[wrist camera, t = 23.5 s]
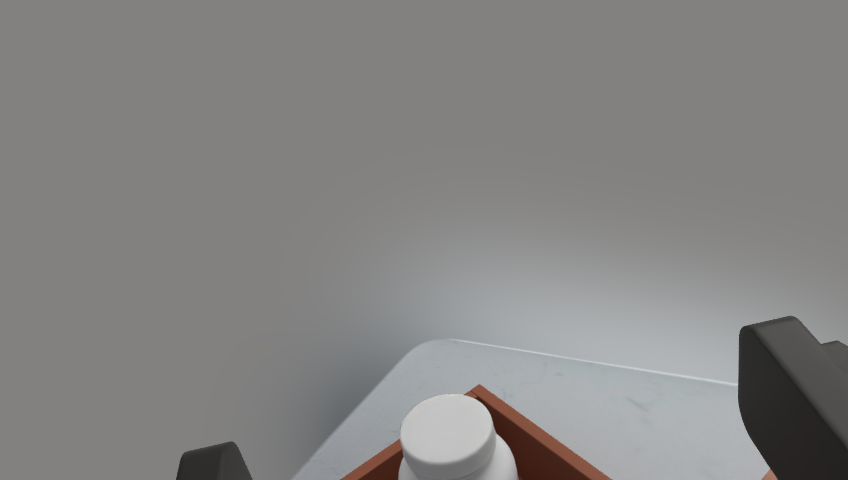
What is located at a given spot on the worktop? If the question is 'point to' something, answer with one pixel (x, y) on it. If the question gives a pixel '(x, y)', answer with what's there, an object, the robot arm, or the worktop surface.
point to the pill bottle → (453, 442)
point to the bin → (530, 445)
